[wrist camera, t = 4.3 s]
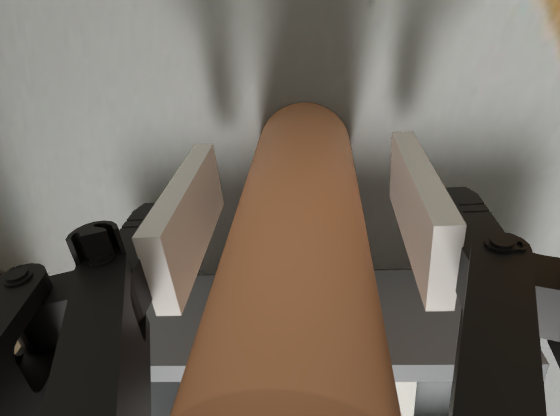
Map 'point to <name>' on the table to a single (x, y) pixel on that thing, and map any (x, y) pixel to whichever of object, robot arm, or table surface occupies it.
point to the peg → (294, 288)
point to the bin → (398, 325)
